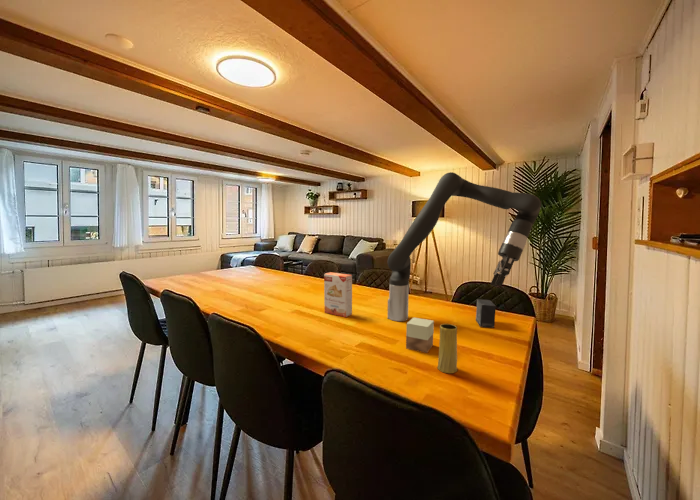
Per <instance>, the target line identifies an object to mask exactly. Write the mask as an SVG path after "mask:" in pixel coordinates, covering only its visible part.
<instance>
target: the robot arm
mask: <svg viewBox="0 0 700 500" xmlns="http://www.w3.org/2000/svg"><path fill="white" fill-rule="evenodd" d="M451 197H460V198H461V197H462V198H468V199H471V200H472V199H473V200H475V201H478V202H481V203H484V204H487V205H489V206H492V207H496V208H500V209H503V210H510V209H513V210H517V214H516V216H515V218H514V220H513V221H512V222H511V223H510V225H509V228H508V231H507V233H506V234H505V236H504V238H503V240H502V242H501V245H500V248H499V249H498V252H497V255H498V256H499V257H501V260H498V262H497V265H496V268H495V269H494V271H493V277H492V280H491V282H490V285H491V286H493V287H495V288H496V287H497V286H498V287H499V286H500V287H502V286H503V284H504V282H505V280H506V277H508V276H509V275H510V272H511V269H512V267H513V265H514V262H518V261H520V259H521V256H522V254H523V252H524V249H525V247H526V245H527V241H528V238H529V235H530V232H531V231H532V228H533V225H534V223H535V222H536V220H537V219H538V216H539V213H540V211H541V206H542V201H541V199H540V198H539V197H538V196H536V195H534V194H532V193H531V194H530V193H525V192H515V191H514V192H513V191H508V190H505V189H502V188H497V187H493V186H488V185H487V186H486V185H481V184H478V183H473V182H472V181H471V182H470V181H469V180H466V179H465V178H463V177H462V176H460V175H459V174H457V173H456V172H451V171H450V172H447V173H445V174H444V175H442V176H441V177H440V179H439V180H438V182H437V184H436V186H435V187H434V189H433V192H432V194H431V195H430V197H429V199H428V200H427V201H426V202H425V204H424V205H423V207H422V209H421V210H420V211H419V212H418V214H417V215H416V217H415V219H414V220H413V222H412V223H411V225H410V226H409V228H408V229H407V231H406V232H405V234H404V236H403V238H402V239H401V240H400V242H399V243H398V245H397V246H396V247H395V248H394V249H393V250H392V252H391V253H390V254H389V256H388V258H387V267H388V269H390V270H391V275H390V277H389V281H388V282H389V292H388V293H389V295H388V299H387V319H389V320H391V321H395V322H404V321H405V322H406V321H407V320H408V319H409V288H410V287H409V286H410V285H409V284H410V283H409V281H410V278H411V266H412V265H411V262H412V261H411V255H412V254H413V252H414V251H415V250H416V248H417V247H418V246H420V244H422V243H423V242H424V241H425V240H426V239H427V237H429V235H430V233H432V231H433V230H434V229H435V226H436V225H437V223H438V222H439V218H440V216H441V214H442V213H441V212H442V211H443V208H444V206H445V205H446V203H447V202H448V201H449V200H450V198H451Z"/></svg>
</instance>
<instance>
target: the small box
mask: <svg viewBox="0 0 700 500" xmlns="http://www.w3.org/2000/svg"><path fill="white" fill-rule="evenodd" d="M496 308H497V306H496V305H495V303H494V302H492V300H490V299H480V298H479V299H478V298H477V299H476V311H475V313H476V314H475V321H476V323H477V325H478V326H479V327H480V328H489V329H495V326H496V325H495V322H496Z"/></svg>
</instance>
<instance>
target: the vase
mask: <svg viewBox="0 0 700 500" xmlns="http://www.w3.org/2000/svg"><path fill="white" fill-rule="evenodd" d="M438 345H439V346H438V360H437V369H438V370H439V371H440V372H442V373H444V374H455V373H456V372H458V366H457V363H458V326H456V325H455V324H451V323H442V324H440V325H439V344H438Z"/></svg>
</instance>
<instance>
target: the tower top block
mask: <svg viewBox="0 0 700 500" xmlns="http://www.w3.org/2000/svg"><path fill="white" fill-rule="evenodd" d="M434 324H435V321H434V320H431V319H426V318H419V317H412V318H411V319H409V321H407V323H406V333H405V334H406V336H408V337H413V338H418V339H423V340H428V339H429V338H430V337H431V336H432V335H433V336H434V328H435V326H434ZM406 336H405V337H406Z"/></svg>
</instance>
